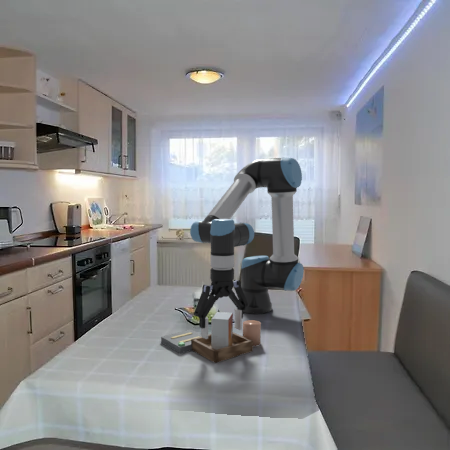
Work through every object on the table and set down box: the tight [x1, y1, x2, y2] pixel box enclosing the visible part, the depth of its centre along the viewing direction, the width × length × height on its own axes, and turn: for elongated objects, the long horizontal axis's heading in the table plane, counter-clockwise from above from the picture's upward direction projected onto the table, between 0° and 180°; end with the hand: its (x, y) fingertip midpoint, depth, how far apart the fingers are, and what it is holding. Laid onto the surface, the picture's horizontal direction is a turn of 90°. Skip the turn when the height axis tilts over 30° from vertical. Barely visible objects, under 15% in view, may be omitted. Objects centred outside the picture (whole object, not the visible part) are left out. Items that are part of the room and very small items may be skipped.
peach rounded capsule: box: [242, 319, 262, 347], centre depth 138 cm, size 6×6×7 cm
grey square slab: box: [160, 329, 201, 354], centre depth 137 cm, size 12×12×3 cm
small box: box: [210, 311, 234, 350], centre depth 131 cm, size 8×6×10 cm
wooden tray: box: [191, 331, 254, 364], centre depth 131 cm, size 15×13×4 cm
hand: (221, 333), depth 131 cm, fingers open, 13 cm apart
